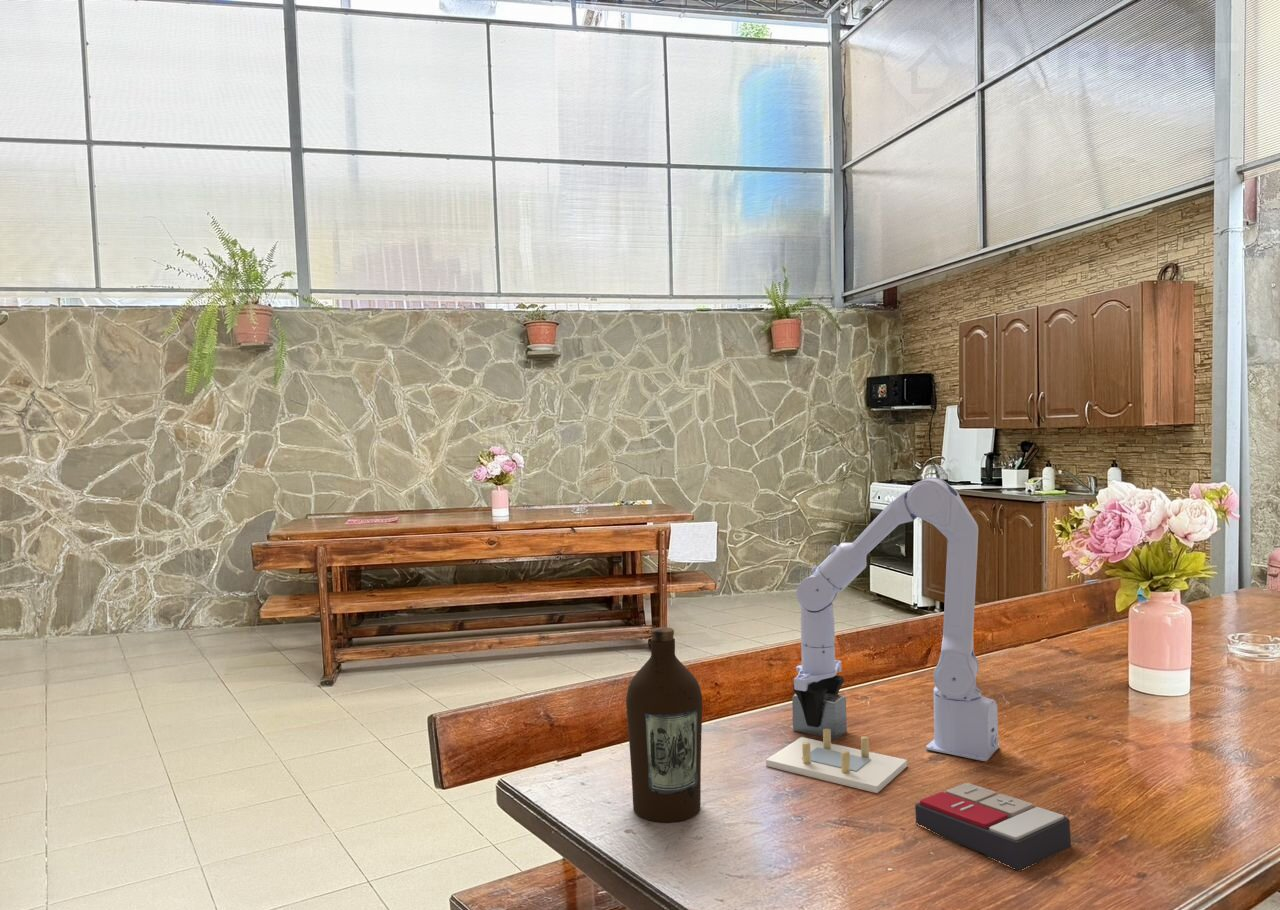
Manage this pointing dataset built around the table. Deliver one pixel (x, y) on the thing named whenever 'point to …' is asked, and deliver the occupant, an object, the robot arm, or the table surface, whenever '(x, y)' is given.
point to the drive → (823, 716)
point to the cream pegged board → (838, 763)
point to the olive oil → (665, 734)
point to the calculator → (995, 824)
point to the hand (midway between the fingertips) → (819, 721)
